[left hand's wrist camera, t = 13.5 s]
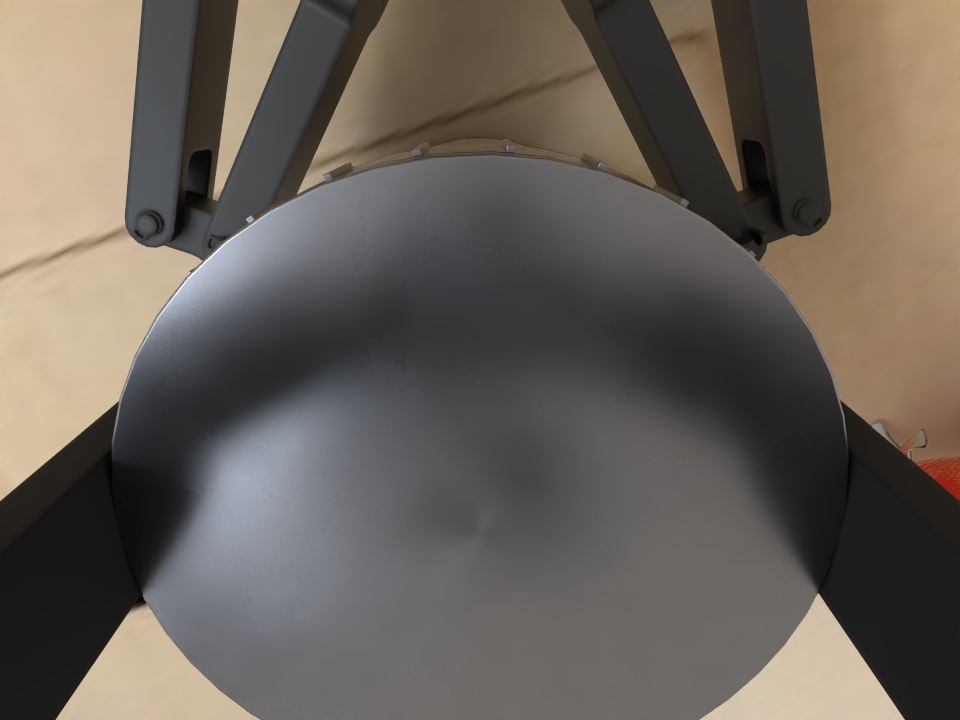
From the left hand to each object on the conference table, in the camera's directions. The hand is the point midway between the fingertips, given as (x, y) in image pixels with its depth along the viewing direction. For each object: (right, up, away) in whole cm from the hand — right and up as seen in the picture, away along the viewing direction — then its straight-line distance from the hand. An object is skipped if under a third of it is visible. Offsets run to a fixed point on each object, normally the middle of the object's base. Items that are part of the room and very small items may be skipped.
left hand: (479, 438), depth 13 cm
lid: (0, -1, -2) cm, 3 cm away
